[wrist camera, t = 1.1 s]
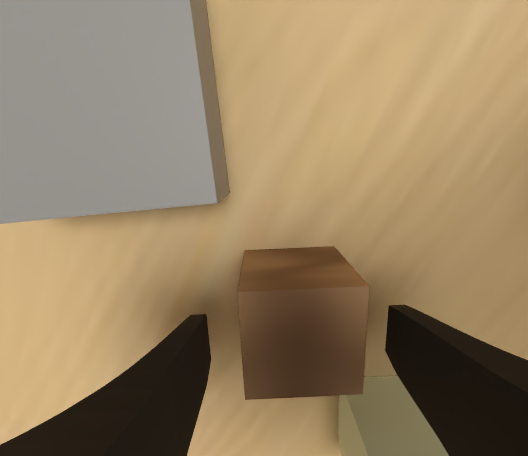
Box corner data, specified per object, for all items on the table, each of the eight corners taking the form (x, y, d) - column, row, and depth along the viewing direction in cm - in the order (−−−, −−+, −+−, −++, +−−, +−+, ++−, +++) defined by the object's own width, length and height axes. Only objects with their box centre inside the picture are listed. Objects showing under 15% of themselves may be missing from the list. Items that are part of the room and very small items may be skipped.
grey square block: (206, -1, 11) (176, -93, 7) (230, 191, 13) (217, 203, 9) (16, 18, 11) (-118, -63, 7) (68, 207, 13) (-16, 225, 9)
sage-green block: (416, 373, 15) (479, 458, 11) (409, 433, 16) (464, 533, 12) (339, 377, 15) (371, 463, 11) (337, 437, 16) (365, 538, 12)
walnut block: (333, 245, 13) (369, 286, 9) (331, 324, 14) (363, 394, 10) (245, 250, 13) (237, 292, 9) (249, 327, 14) (245, 399, 10)
